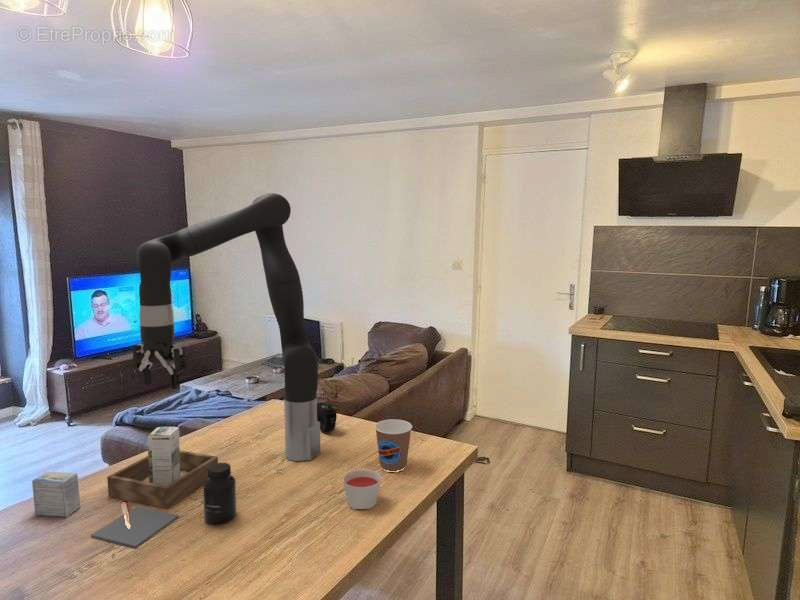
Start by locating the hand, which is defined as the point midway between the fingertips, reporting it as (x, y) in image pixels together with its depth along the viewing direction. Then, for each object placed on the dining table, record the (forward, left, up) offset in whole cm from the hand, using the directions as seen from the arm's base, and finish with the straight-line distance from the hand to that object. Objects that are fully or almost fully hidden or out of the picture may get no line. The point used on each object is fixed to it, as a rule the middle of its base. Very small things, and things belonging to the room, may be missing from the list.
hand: (160, 386), depth 124 cm
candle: (-51, -8, -26) cm, 58 cm away
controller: (-22, -46, -26) cm, 57 cm away
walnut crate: (0, 0, -26) cm, 26 cm away
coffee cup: (-52, -28, -26) cm, 65 cm away
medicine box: (+14, +18, -26) cm, 35 cm away
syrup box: (0, 0, -26) cm, 26 cm away
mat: (-8, +17, -26) cm, 32 cm away
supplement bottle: (-23, +8, -26) cm, 36 cm away
